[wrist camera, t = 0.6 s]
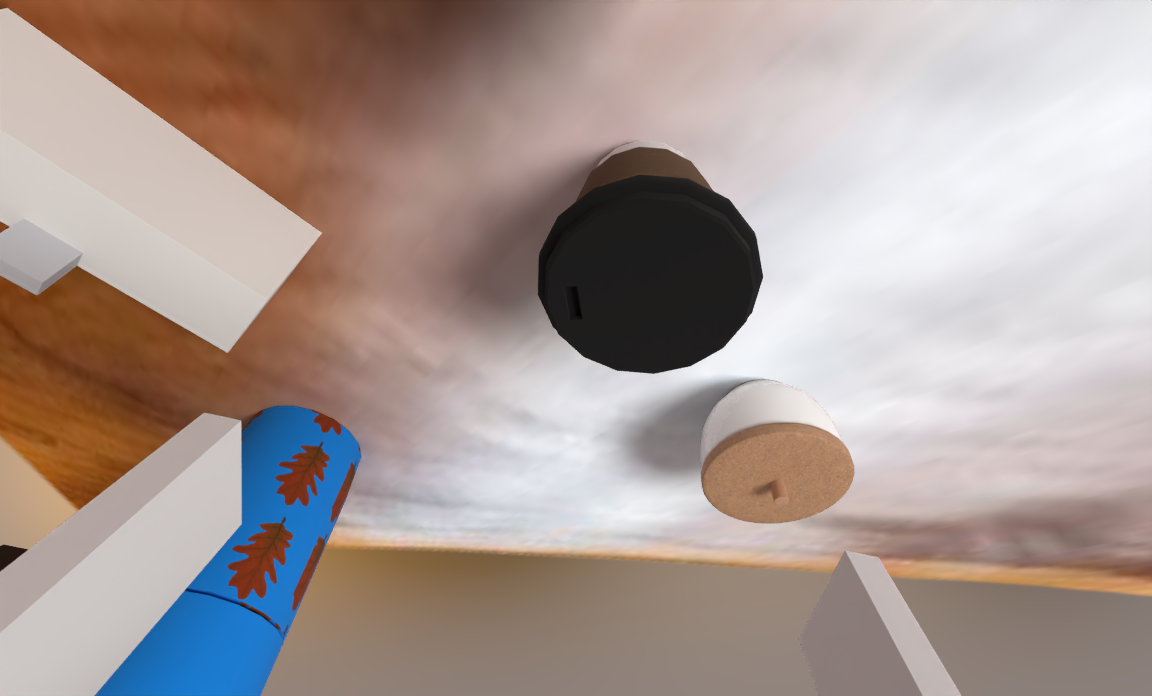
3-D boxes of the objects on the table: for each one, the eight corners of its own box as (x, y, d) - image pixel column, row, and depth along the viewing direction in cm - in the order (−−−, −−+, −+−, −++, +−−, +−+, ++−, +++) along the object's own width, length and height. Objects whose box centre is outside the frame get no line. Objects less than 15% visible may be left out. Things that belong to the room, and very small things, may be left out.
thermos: (280, 386, 51) (72, 706, 32) (384, 447, 55) (257, 760, 36) (228, 440, 56) (22, 742, 37) (327, 492, 60) (189, 786, 41)
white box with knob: (-135, -94, 30) (-434, -75, 21) (321, 233, 41) (242, 331, 32) (-145, 1, 33) (-410, 52, 24) (283, 283, 44) (201, 385, 35)
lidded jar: (669, 425, 51) (677, 519, 44) (737, 339, 44) (760, 433, 37) (775, 462, 53) (798, 556, 46) (855, 384, 46) (897, 481, 39)
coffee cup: (569, 269, 41) (553, 387, 32) (542, 110, 34) (512, 203, 25) (729, 255, 40) (760, 375, 30) (733, 87, 33) (776, 176, 24)
